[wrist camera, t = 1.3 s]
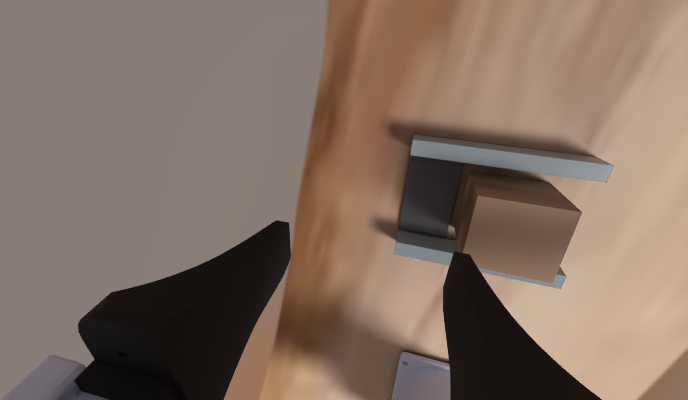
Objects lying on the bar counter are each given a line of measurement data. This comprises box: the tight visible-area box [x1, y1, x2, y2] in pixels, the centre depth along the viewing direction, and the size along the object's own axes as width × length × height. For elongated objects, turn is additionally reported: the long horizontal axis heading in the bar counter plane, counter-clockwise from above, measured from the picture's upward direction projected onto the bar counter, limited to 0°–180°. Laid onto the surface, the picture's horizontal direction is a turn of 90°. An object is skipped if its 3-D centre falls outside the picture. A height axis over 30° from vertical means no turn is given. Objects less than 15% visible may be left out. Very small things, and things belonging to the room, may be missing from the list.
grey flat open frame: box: [394, 134, 614, 289], centre depth 21 cm, size 8×11×2 cm
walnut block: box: [455, 171, 582, 283], centre depth 19 cm, size 4×5×5 cm
